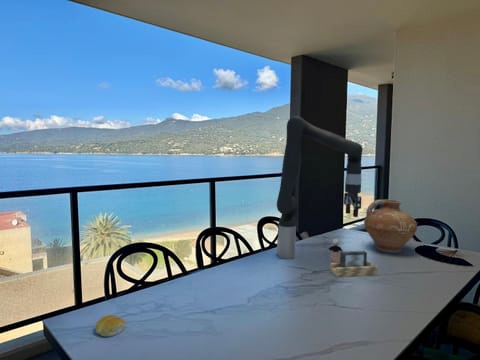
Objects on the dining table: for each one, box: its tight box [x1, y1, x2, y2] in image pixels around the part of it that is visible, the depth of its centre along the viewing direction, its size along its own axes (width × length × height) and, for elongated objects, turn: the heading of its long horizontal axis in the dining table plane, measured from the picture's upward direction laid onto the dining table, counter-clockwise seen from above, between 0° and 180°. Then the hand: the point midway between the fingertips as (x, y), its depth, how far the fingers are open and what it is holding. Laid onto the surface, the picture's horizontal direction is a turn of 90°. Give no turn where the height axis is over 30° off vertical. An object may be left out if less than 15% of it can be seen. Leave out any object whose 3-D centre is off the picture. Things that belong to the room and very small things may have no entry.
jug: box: [363, 199, 418, 254], centre depth 186 cm, size 28×28×30 cm
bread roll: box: [94, 314, 126, 338], centre depth 101 cm, size 8×9×4 cm
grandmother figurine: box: [327, 238, 344, 263], centre depth 164 cm, size 8×4×13 cm, turn 84°
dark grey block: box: [339, 250, 368, 267], centre depth 151 cm, size 12×3×8 cm, turn 98°
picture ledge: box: [329, 261, 379, 278], centre depth 151 cm, size 20×8×4 cm, turn 98°
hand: (351, 215), depth 161 cm, fingers open, 8 cm apart
